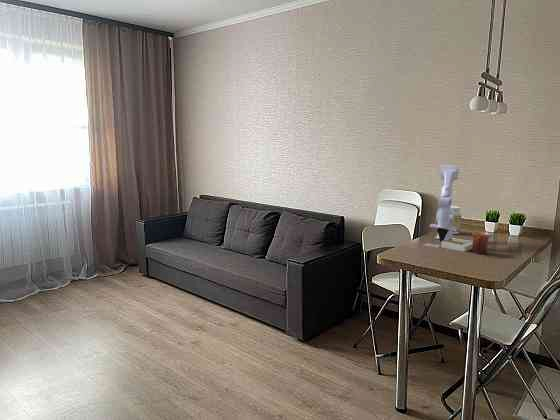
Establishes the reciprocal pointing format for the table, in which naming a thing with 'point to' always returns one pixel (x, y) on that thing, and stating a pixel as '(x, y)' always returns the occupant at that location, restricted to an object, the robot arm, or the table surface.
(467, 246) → the frame
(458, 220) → the supplement tub
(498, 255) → the table surface
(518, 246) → the table surface
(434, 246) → the slate coaster
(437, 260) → the table surface
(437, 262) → the table surface
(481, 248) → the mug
